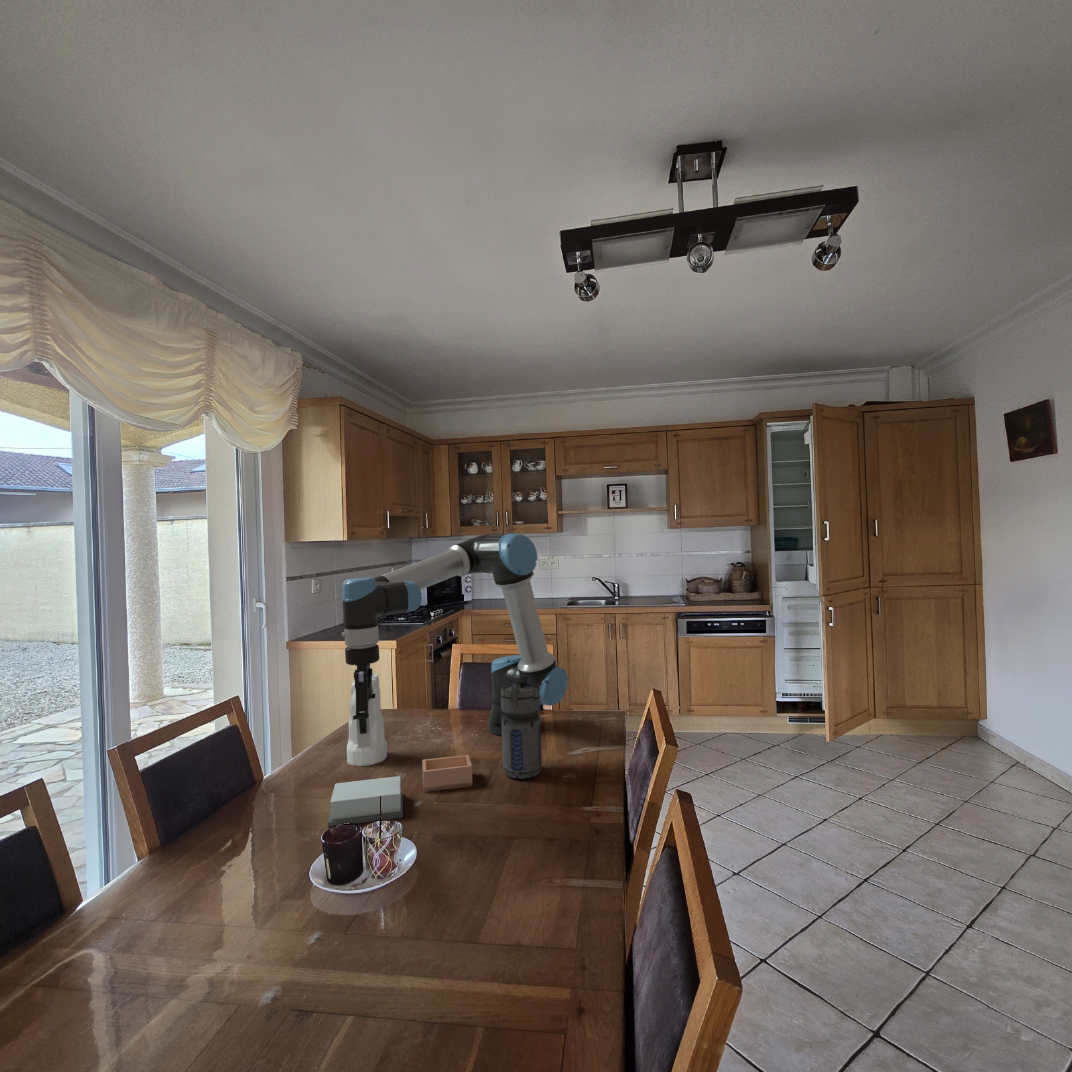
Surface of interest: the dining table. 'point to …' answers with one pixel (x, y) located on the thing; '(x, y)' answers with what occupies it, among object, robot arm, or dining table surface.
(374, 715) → the white ridged column
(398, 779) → the board
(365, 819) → the mat
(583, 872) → the dining table surface
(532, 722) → the beverage bottle
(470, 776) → the brown open box
